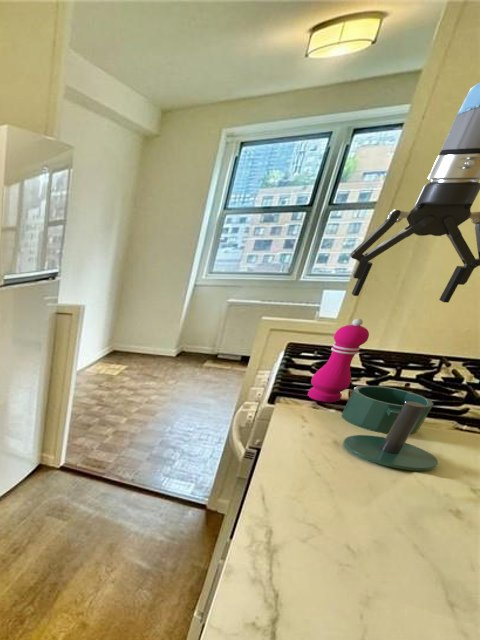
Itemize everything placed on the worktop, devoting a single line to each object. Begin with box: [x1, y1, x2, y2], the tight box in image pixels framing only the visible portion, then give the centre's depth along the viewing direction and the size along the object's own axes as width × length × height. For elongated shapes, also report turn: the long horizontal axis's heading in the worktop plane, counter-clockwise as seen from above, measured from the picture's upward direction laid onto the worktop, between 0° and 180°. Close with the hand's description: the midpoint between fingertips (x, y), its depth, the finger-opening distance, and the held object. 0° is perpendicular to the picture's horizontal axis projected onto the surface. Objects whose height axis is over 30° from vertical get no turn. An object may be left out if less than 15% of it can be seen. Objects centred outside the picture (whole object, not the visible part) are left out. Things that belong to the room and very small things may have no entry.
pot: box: [341, 385, 434, 436], centre depth 108 cm, size 13×18×6 cm
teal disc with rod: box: [342, 401, 439, 472], centre depth 94 cm, size 14×14×11 cm
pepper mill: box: [307, 318, 370, 404], centre depth 117 cm, size 7×7×20 cm
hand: (397, 298), depth 100 cm, fingers open, 13 cm apart
